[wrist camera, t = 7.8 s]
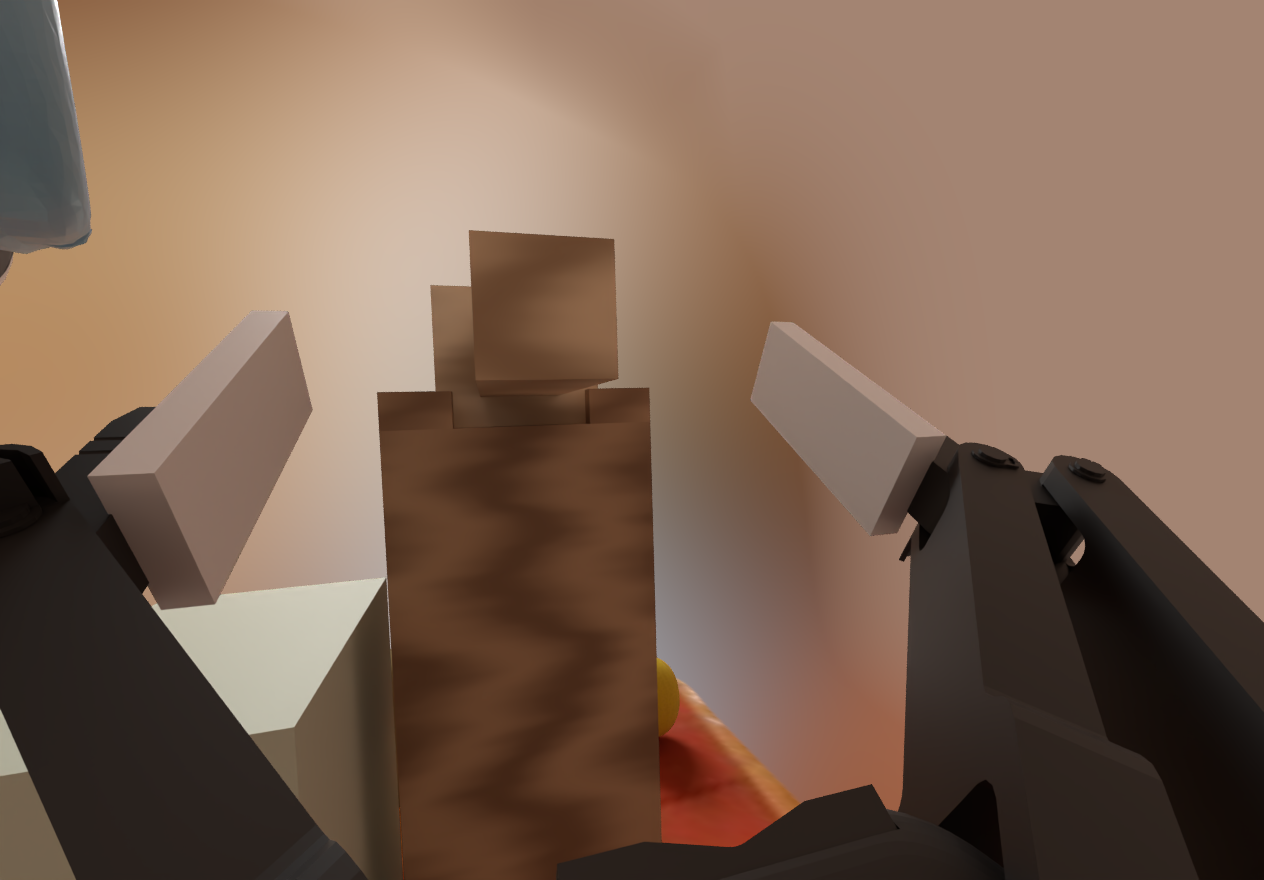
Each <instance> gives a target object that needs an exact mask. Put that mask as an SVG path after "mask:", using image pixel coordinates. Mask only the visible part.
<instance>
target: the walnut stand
mask: <svg viewBox="0 0 1264 880" xmlns="http://www.w3.org/2000/svg"><path fill="white" fill-rule="evenodd" d="M377 397H378V398H377V399H378V417H379V434H380V453H381V471H382V489H383V504H384V505H383V507H384V522H385V523H384V524H385V543H386V561H387V579H388V597H389V613H390V614H389V615H390V632H391V651H392V669H393V687H394V705H395V723H396V741H397V759H398V777H399V795H400V813H401V831H402V849H403V867H404V880H556V871H557V864H558V863H562V862H566V861H570V860H574V859H578V858H582V857H586V856H590V855H594V854H598V853H602V852H606V851H610V850H614V849H618V848H621V847H625V846H629V845H633V844H637V843H641V842H658V843H662V840H661V803H660V766H659V730H658V693H657V656H656V622H655V621H656V620H655V583H654V546H653V509H652V473H651V440H650V439H651V437H650V399H649V388H609V389H607V388H606V389H586V390H585V412H586V423H579V424H550V425H521V426H493V427H464V428H454V413H453V392H452V391H435V392H434V391H429V392H378V393H377Z"/></svg>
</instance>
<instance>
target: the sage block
mask: <svg viewBox="0 0 1264 880" xmlns="http://www.w3.org/2000/svg"><path fill="white" fill-rule="evenodd" d="M152 608H153V609H154V610H155V612H156V613H157V614H158V616H159V617H160V618H161V620H162V621H163V622H164V624H165V625H166V626H167V628H168V629H169V630H170V632H171V633H172V634H173V635H174V637H175V638H176V639H177V641H178V642H179V643H180V645H181V646H182V647H183V649H184V650H185V651H186V653H187V654H188V655H189V657H190V658H191V659H192V661H193V662H194V663H195V664H196V666H197V667H198V668H199V670H200V671H201V672H202V674H203V675H204V676H205V678H206V679H207V680H208V682H209V683H210V684H211V686H212V687H213V688H214V689H215V691H216V692H217V693H218V695H219V696H220V697H221V699H222V700H223V701H224V703H225V704H226V705H227V707H228V708H229V709H230V711H231V712H232V713H233V715H234V716H235V717H236V718H237V720H238V721H239V722H240V724H241V725H242V726H243V728H244V729H245V730H246V732H247V733H248V734H249V736H250V737H251V738H252V740H253V741H254V742H255V744H256V745H257V746H258V747H259V749H260V750H261V751H262V753H263V754H264V755H265V757H266V758H267V759H268V761H269V762H270V763H271V765H272V766H273V767H274V769H275V770H276V771H277V772H278V774H279V775H280V776H281V778H282V779H283V780H284V782H285V783H286V784H287V786H288V787H289V788H290V790H291V791H292V792H293V794H294V795H295V796H296V798H297V799H298V800H299V801H300V803H301V804H302V805H303V807H304V808H305V809H306V811H307V812H308V813H309V815H310V816H311V817H312V819H313V820H314V821H315V823H316V824H317V825H318V826H319V828H320V829H321V830H322V831H323V833H324V834H325V835H326V836H327V837H328V838H329V839H330V840H333V841H336V842H337V843H338V844H339V845H340V846H341V847H342V848H343V849H344V850H345V851H346V852H347V853H348V855H349V856H350V857H351V858H352V859H353V861H354V862H355V863H356V864H357V866H358V867H359V868H360V869H361V871H362V872H363V873H364V874H365V876H366V877H367V878H368V880H403V872H402V854H401V836H400V818H399V800H398V782H397V764H396V746H395V728H394V710H393V692H392V674H391V656H390V638H389V622H388V602H387V585H386V578H376V579H367V580H357V581H347V582H338V583H328V584H318V585H309V586H300V587H289V588H279V589H270V590H261V591H251V592H241V593H231V594H222V595H220V596H219V598H218V600H217V602H216V604H214V605H205V606H195V607H186V608H176V609H167V610H161V609H160V607H159V606H158V604H157V603H156V604H155V605H153V606H152ZM0 880H76V879H75V876H74V874H73V872H72V870H71V867H70V865H69V863H68V860H67V858H66V856H65V854H64V851H63V849H62V847H61V845H60V842H59V840H58V838H57V836H56V833H55V831H54V829H53V827H52V824H51V822H50V820H49V818H48V815H47V813H46V811H45V809H44V806H43V804H42V802H41V800H40V797H39V795H38V793H37V791H36V788H35V786H34V784H33V782H32V779H31V777H30V775H29V773H28V770H27V768H26V766H25V764H24V761H23V759H22V757H21V755H20V752H19V750H18V748H17V746H16V743H15V741H14V739H13V737H12V734H11V732H10V730H9V728H8V725H7V723H6V721H5V719H4V716H3V714H2V712H1V710H0Z"/></svg>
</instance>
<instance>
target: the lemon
mask: <svg viewBox="0 0 1264 880" xmlns="http://www.w3.org/2000/svg"><path fill="white" fill-rule="evenodd" d="M657 693H658V730H659V737H660V736H662V735H664V734H665V733H667V732H668V731H669V730H670V729H671V727H672V726H673V725H674V723H675V720H676V718H677V715H678V711H679V689H678V684H677V680H676V677H675V675H674V673H673V671H672V669H671V668H670V667H669V666H668V665H667V664H666V663H665V662H664V661H662V660H660V659H659V658H657Z"/></svg>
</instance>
